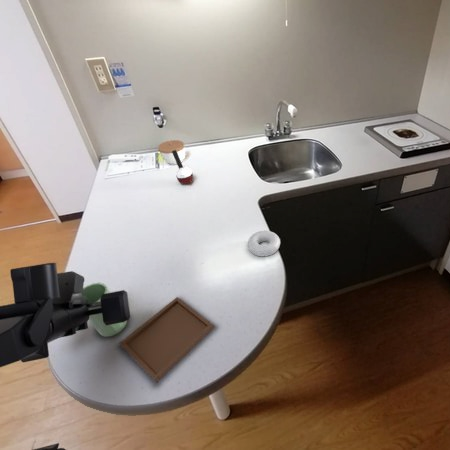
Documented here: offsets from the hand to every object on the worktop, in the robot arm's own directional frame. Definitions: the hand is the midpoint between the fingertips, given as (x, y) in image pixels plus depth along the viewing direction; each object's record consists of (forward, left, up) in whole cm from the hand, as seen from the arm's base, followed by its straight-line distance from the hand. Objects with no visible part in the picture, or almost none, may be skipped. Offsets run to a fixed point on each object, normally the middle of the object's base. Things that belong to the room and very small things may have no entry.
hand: (97, 307), depth 68 cm
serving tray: (+7, -13, -8) cm, 17 cm away
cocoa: (+53, +40, -9) cm, 66 cm away
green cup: (+1, +1, -8) cm, 8 cm away
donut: (+43, -11, -9) cm, 45 cm away
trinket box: (+61, +58, -9) cm, 84 cm away
